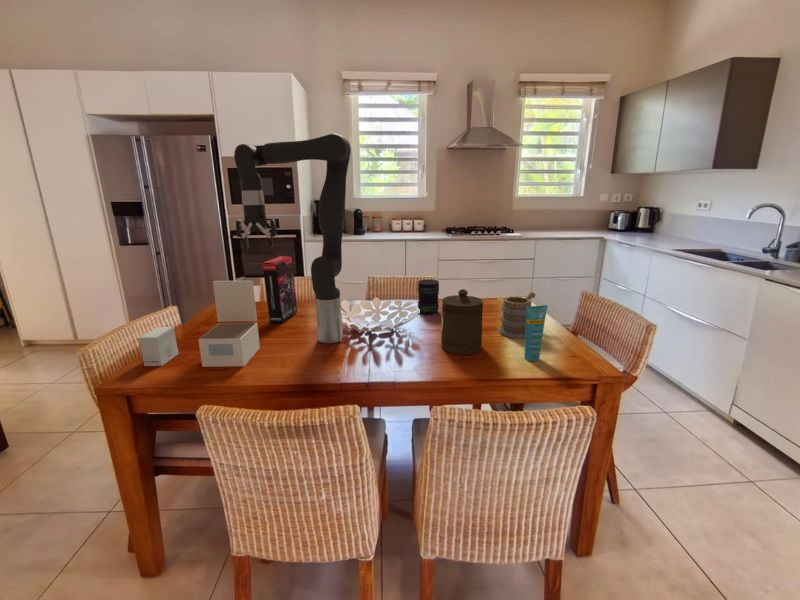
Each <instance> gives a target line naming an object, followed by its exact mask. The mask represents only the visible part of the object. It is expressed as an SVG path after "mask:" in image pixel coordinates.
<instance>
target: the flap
mask: <svg viewBox="0 0 800 600" xmlns="http://www.w3.org/2000/svg"><path fill="white" fill-rule="evenodd" d="M212 285H213V286H212V287H213V294H214V299H215V300H214V301H215V309H216V317H217V322H219V323H223V322H257V321H258V318H257V307H256V298H255V289H254V280H247V277H246V276H241V277H239V278H237V279H235V280H213V281H212Z"/></svg>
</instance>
